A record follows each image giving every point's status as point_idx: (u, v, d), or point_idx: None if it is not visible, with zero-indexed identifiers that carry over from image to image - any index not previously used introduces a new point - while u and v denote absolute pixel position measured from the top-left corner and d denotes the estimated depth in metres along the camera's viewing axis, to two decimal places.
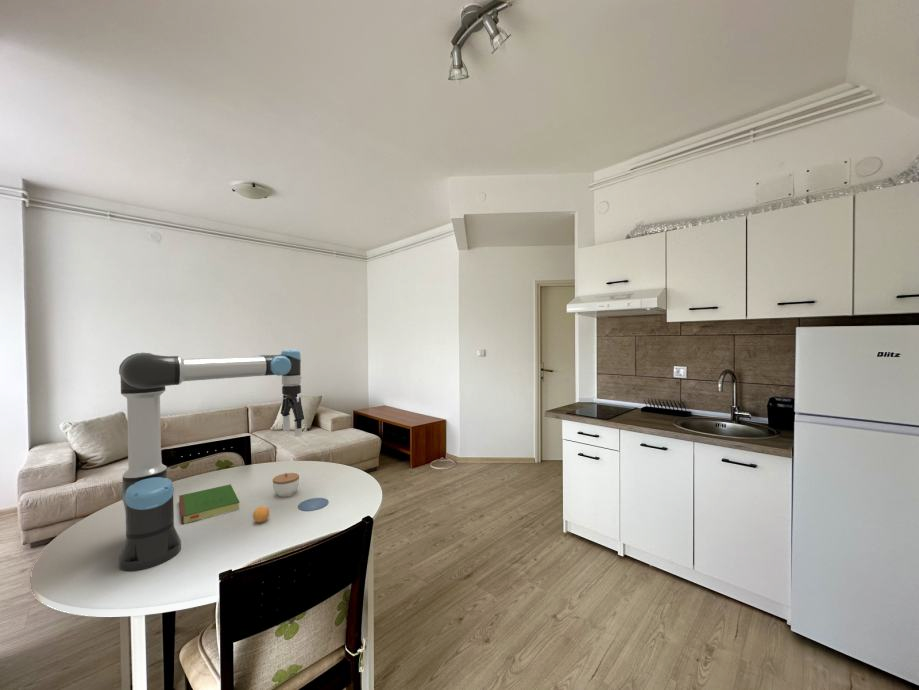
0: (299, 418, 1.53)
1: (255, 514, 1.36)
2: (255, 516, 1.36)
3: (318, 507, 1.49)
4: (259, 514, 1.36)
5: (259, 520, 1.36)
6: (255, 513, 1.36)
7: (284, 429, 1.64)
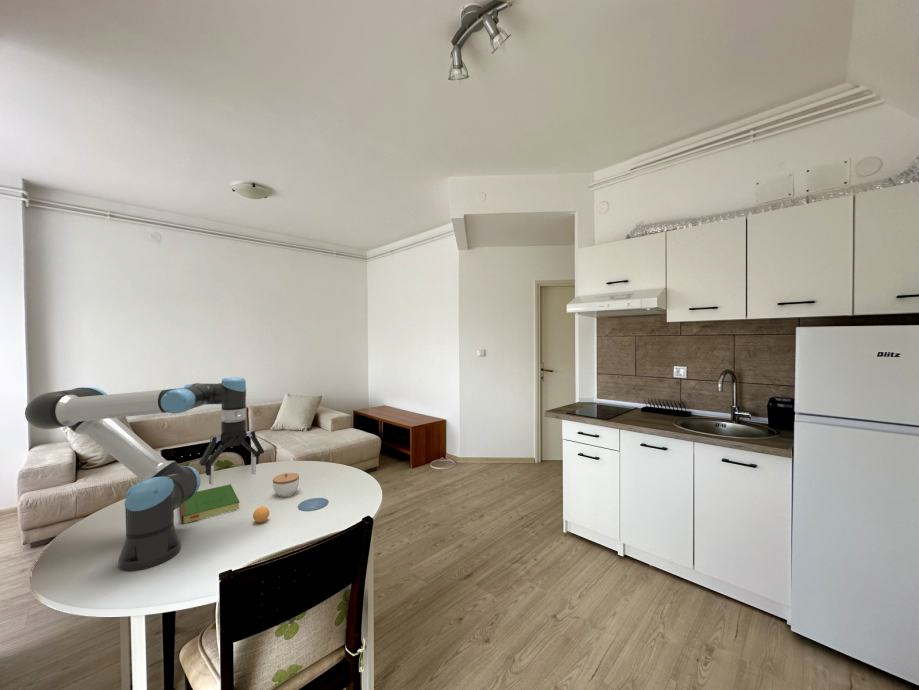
0: (200, 462, 1.26)
1: (255, 514, 1.36)
2: (255, 516, 1.36)
3: (318, 507, 1.49)
4: (259, 514, 1.36)
5: (259, 520, 1.36)
6: (255, 513, 1.36)
7: (251, 471, 1.38)
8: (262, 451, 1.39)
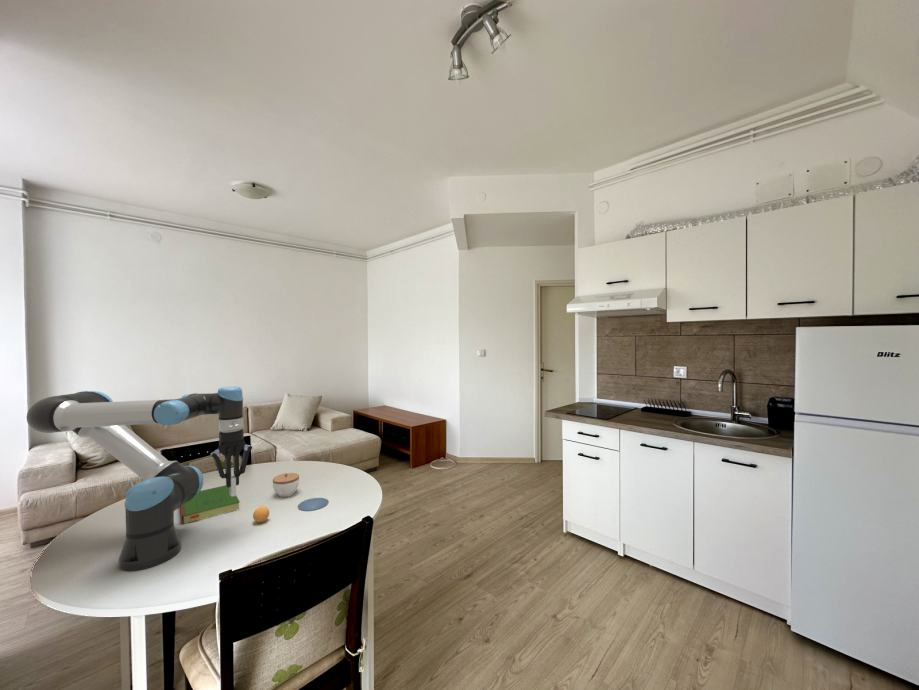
0: (220, 475, 1.29)
1: (255, 514, 1.36)
2: (255, 516, 1.36)
3: (318, 507, 1.49)
4: (259, 514, 1.36)
5: (259, 520, 1.36)
6: (255, 513, 1.36)
7: None
8: (243, 471, 1.33)
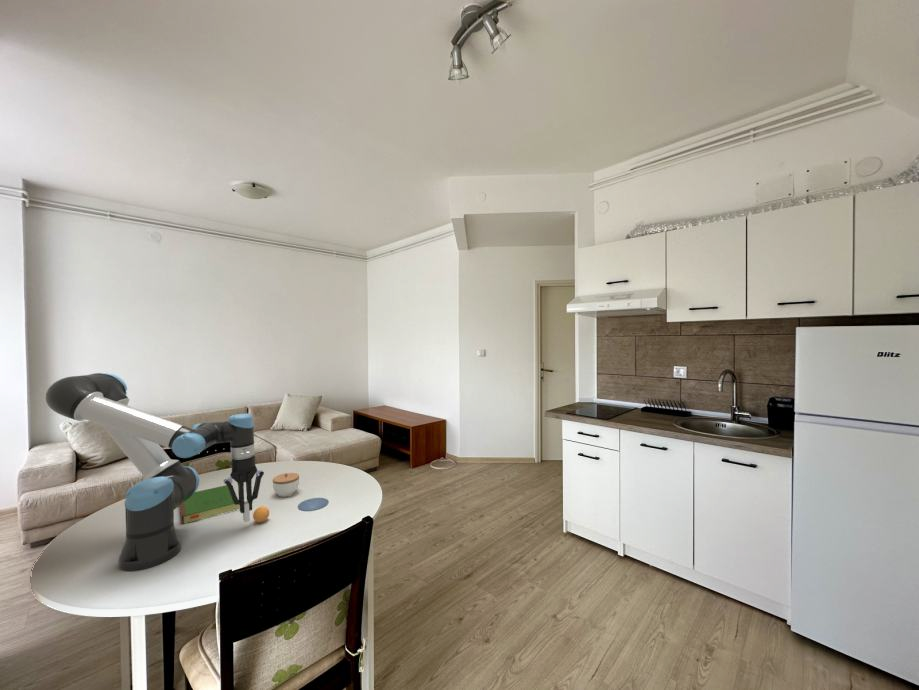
0: (233, 501, 1.32)
1: (255, 514, 1.36)
2: (255, 516, 1.36)
3: (318, 507, 1.49)
4: (259, 514, 1.36)
5: (259, 520, 1.36)
6: (255, 513, 1.36)
7: None
8: (256, 496, 1.35)
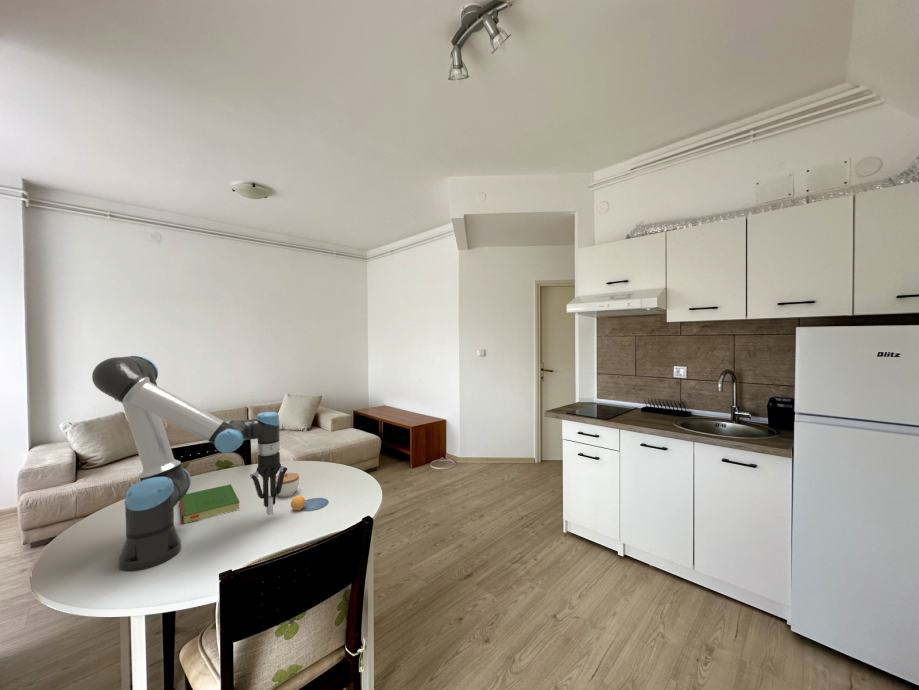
0: (258, 495, 1.38)
1: (295, 509, 1.46)
2: None
3: (318, 507, 1.49)
4: (297, 508, 1.46)
5: (302, 507, 1.47)
6: (294, 509, 1.46)
7: None
8: (279, 491, 1.42)
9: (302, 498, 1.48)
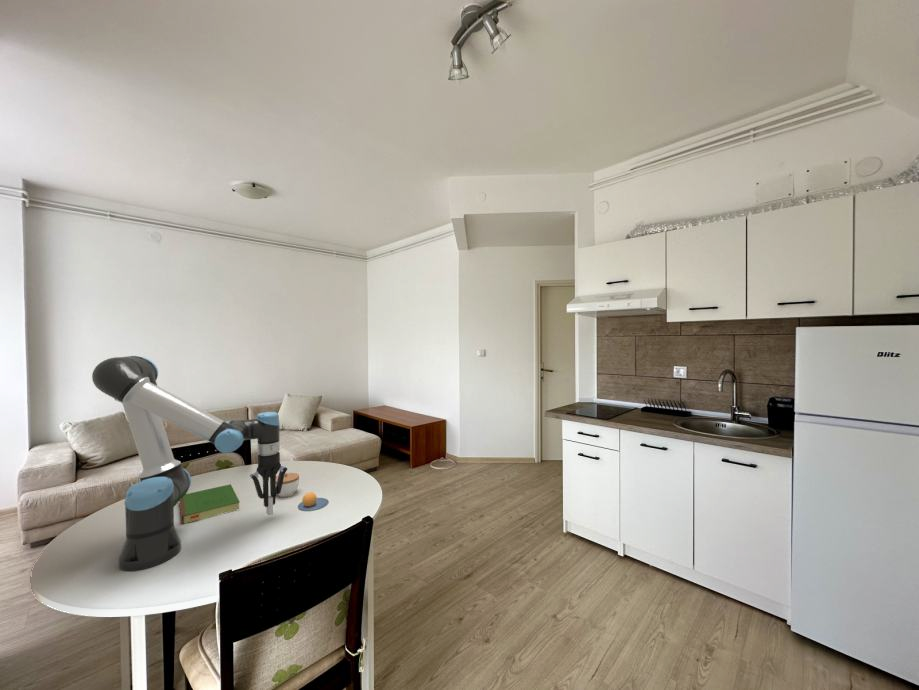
0: (258, 495, 1.38)
1: (305, 497, 1.49)
2: (305, 499, 1.49)
3: (318, 507, 1.49)
4: (309, 498, 1.49)
5: (308, 504, 1.49)
6: (305, 496, 1.49)
7: None
8: (279, 491, 1.42)
9: None
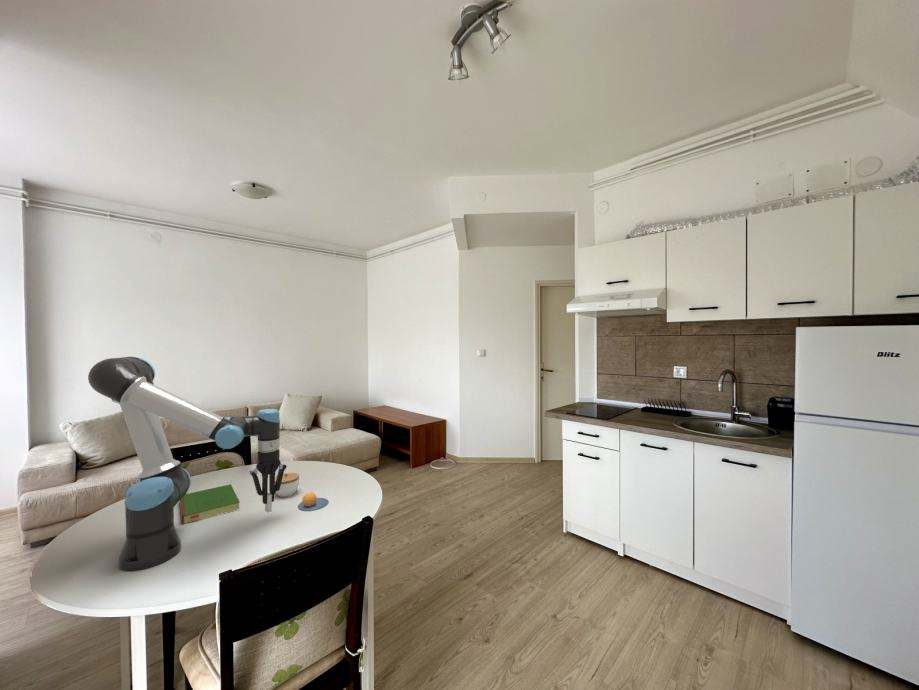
0: (257, 492, 1.38)
1: (305, 497, 1.49)
2: (305, 499, 1.49)
3: (318, 507, 1.49)
4: (309, 498, 1.49)
5: (308, 504, 1.49)
6: (305, 496, 1.49)
7: None
8: (278, 488, 1.42)
9: None
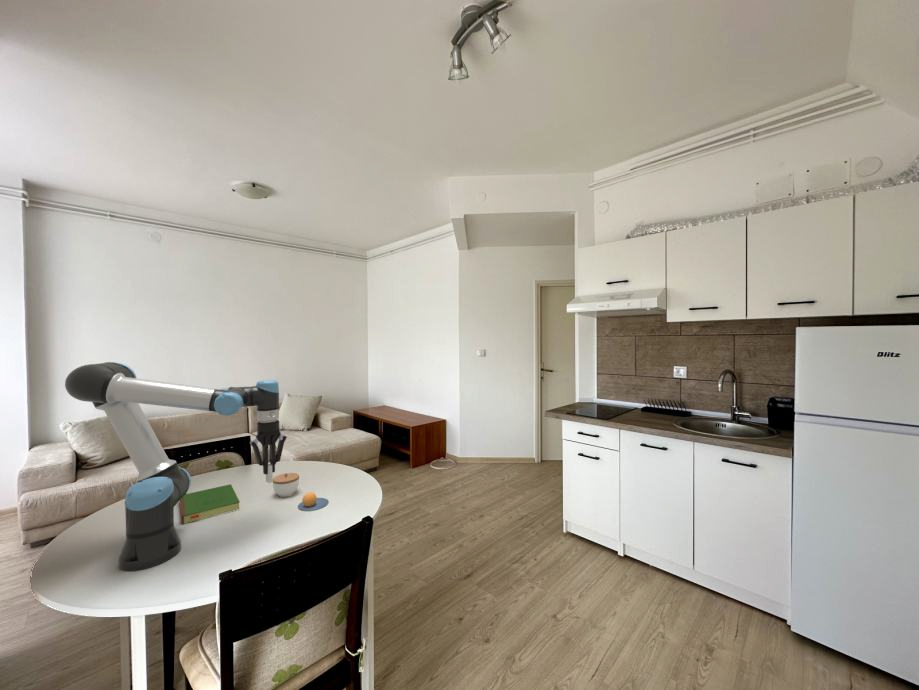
0: (258, 462, 1.38)
1: (305, 497, 1.49)
2: (305, 499, 1.49)
3: (318, 507, 1.49)
4: (309, 498, 1.49)
5: (308, 504, 1.49)
6: (305, 496, 1.49)
7: None
8: (278, 459, 1.42)
9: None
